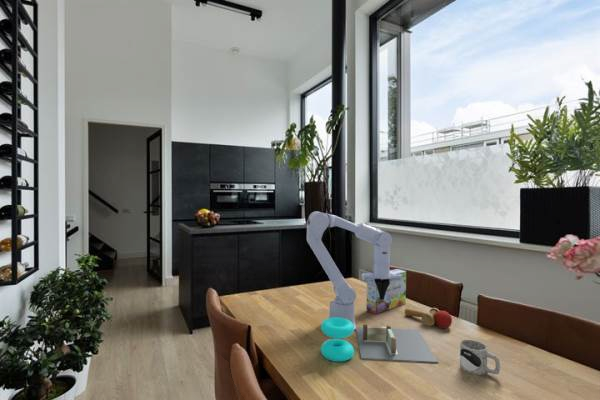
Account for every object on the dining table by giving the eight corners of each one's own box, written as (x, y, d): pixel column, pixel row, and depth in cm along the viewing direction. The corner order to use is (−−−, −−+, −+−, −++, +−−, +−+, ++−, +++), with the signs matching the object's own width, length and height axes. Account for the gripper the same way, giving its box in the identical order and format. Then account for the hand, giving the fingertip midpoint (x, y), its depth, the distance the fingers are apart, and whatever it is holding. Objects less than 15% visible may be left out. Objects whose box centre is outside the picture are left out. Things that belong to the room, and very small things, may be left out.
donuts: (357, 328, 92) (323, 329, 91) (357, 362, 92) (323, 364, 91) (350, 315, 102) (319, 316, 101) (350, 346, 102) (319, 347, 101)
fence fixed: (363, 341, 105) (363, 326, 105) (362, 339, 107) (363, 324, 106) (391, 343, 104) (391, 327, 104) (390, 341, 106) (390, 325, 106)
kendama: (400, 321, 125) (445, 330, 112) (400, 304, 127) (445, 311, 113) (411, 320, 130) (456, 328, 117) (411, 304, 132) (455, 310, 118)
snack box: (376, 315, 128) (376, 278, 128) (365, 311, 133) (366, 275, 133) (406, 304, 142) (406, 270, 142) (395, 300, 146) (395, 268, 146)
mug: (455, 367, 90) (455, 343, 90) (466, 359, 94) (467, 337, 94) (494, 383, 82) (494, 358, 82) (504, 375, 86) (505, 350, 86)
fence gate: (387, 341, 104) (387, 327, 104) (391, 341, 104) (391, 327, 104) (391, 353, 96) (391, 339, 96) (396, 353, 96) (396, 339, 96)
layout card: (361, 359, 94) (361, 357, 94) (355, 328, 116) (355, 326, 116) (438, 363, 92) (438, 361, 92) (418, 330, 114) (418, 329, 114)
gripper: (363, 264, 116) (363, 301, 117) (404, 265, 115) (403, 303, 115) (361, 260, 123) (361, 295, 124) (399, 261, 122) (399, 296, 122)
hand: (381, 298), depth 120 cm, fingers closed
